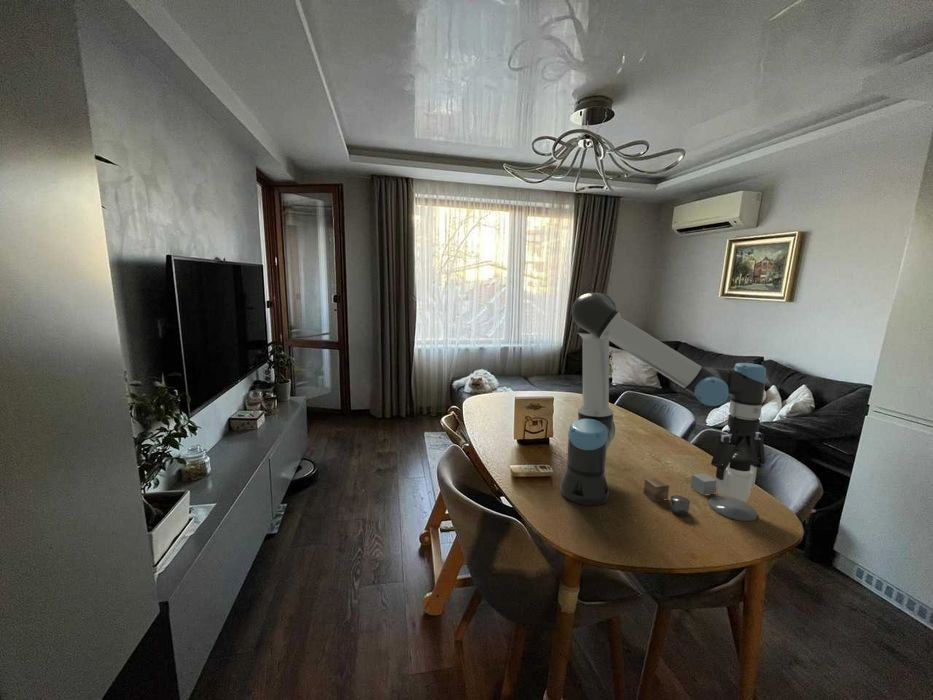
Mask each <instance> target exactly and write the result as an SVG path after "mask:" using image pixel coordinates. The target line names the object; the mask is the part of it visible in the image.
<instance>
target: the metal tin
mask: <svg viewBox="0 0 933 700" xmlns="http://www.w3.org/2000/svg"><path fill="white" fill-rule="evenodd" d="M690 502H691V501H690V499H689V498H688V497H684V496H682V495H678V494H677V495H676V494H675V495H671V496H670V502H669V511H670V513H671V512H672V513H671V514H672V515H675V516H677V517H682V518H685V517H688V516H689V513H690V505H691V503H690Z"/></svg>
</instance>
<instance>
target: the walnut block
mask: <svg viewBox="0 0 933 700" xmlns="http://www.w3.org/2000/svg"><path fill="white" fill-rule="evenodd" d="M643 484H644V487H643V494H644V493H645V494H646V495H645V494H644V495H645V496H647V497H648V498H649V497H650V498H651V499H650V498H649V499H650V500H651V501H653V502H659V501H658V500H662V501H665V500H664V499H668V500H669V492H670V485H669V484H668V483H666V482H665V481H664V480H662V479H661V478H659V477H655V478H653V477H652V478H645V479H644V483H643Z"/></svg>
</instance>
